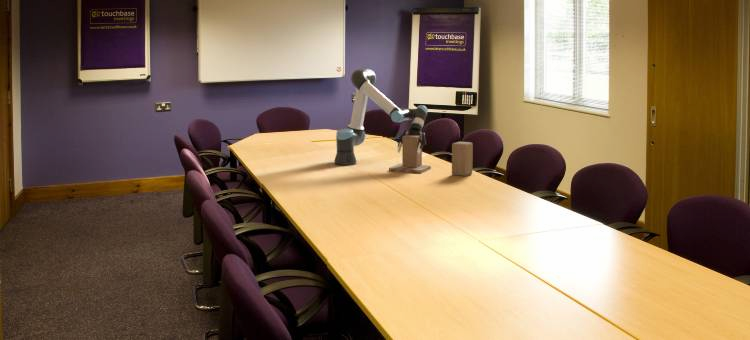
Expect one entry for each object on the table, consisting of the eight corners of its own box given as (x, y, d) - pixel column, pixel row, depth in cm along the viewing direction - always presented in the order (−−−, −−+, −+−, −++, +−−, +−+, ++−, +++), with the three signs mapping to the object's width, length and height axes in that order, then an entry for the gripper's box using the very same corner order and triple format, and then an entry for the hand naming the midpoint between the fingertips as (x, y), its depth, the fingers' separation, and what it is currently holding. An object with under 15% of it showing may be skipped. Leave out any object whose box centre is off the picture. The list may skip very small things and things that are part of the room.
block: (458, 172, 445) (459, 141, 441) (472, 174, 439) (473, 142, 436) (451, 175, 437) (451, 143, 433) (465, 176, 431) (465, 144, 427)
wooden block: (416, 167, 451) (416, 136, 447) (402, 166, 455) (402, 136, 451) (422, 165, 460) (422, 135, 456) (407, 164, 464) (407, 134, 460)
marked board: (389, 171, 452) (389, 168, 451) (399, 166, 468) (399, 163, 468) (421, 173, 443) (421, 170, 442) (430, 168, 459) (430, 165, 459)
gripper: (436, 130, 458) (427, 156, 448) (400, 128, 469) (392, 154, 458) (433, 123, 453) (425, 149, 442) (397, 121, 463) (388, 147, 452)
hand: (408, 152), depth 450 cm, fingers open, 13 cm apart
